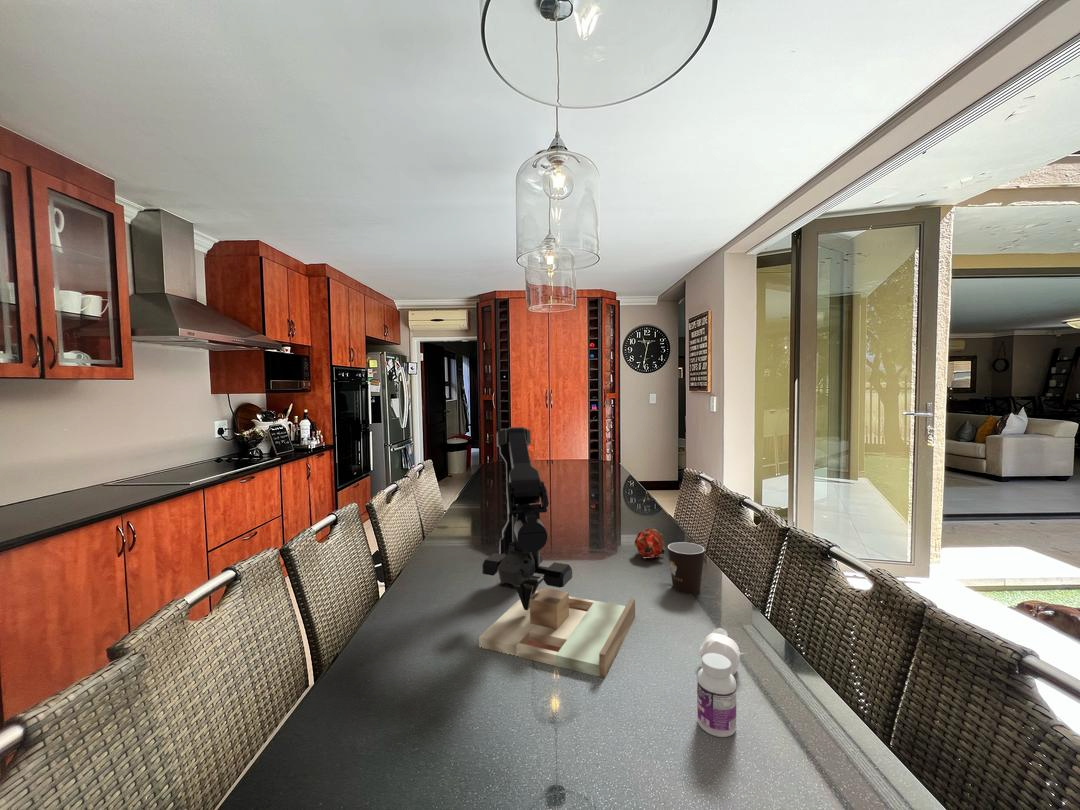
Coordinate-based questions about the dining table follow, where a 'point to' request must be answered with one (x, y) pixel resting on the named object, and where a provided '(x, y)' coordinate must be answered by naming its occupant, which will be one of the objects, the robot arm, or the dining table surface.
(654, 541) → the dragon fruit
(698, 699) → the pill bottle
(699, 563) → the coffee mug
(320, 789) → the dining table surface
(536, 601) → the walnut block
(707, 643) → the elephant figurine
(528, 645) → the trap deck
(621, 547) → the dining table surface
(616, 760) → the dining table surface
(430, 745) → the dining table surface
